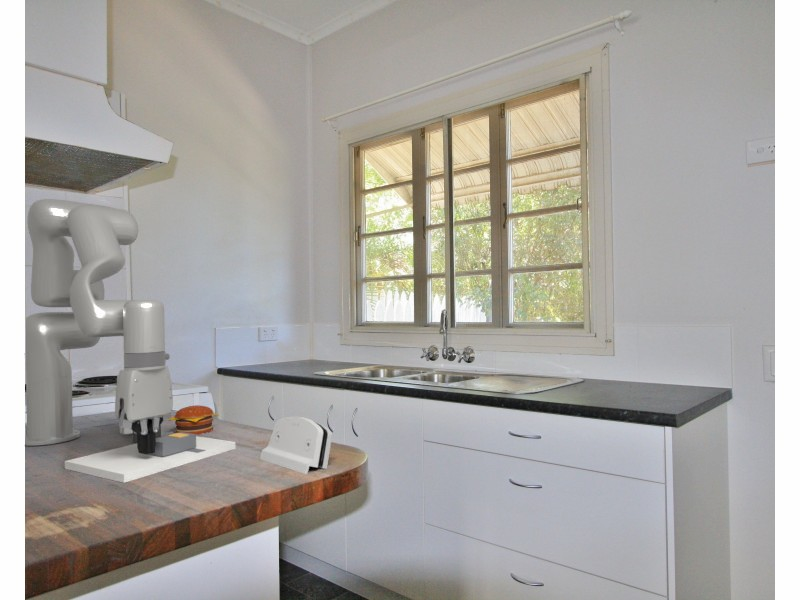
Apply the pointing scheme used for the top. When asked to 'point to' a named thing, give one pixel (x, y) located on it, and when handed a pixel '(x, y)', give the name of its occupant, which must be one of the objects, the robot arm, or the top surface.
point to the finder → (174, 443)
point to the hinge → (298, 444)
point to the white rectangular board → (143, 460)
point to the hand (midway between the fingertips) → (146, 452)
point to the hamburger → (194, 419)
